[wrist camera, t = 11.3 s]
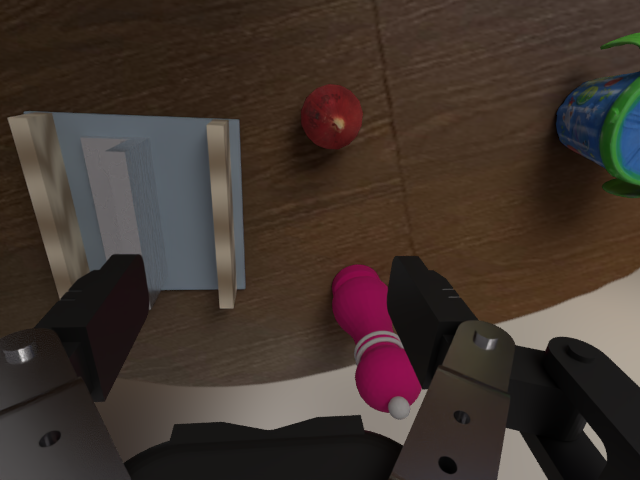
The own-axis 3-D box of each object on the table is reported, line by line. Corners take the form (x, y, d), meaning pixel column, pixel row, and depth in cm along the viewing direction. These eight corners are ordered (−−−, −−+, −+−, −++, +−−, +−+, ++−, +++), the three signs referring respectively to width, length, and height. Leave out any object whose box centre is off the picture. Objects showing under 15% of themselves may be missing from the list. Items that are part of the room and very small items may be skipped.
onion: (290, 128, 39) (293, 142, 32) (312, 72, 37) (320, 74, 30) (340, 149, 41) (353, 168, 33) (364, 97, 39) (383, 105, 31)
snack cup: (540, 50, 38) (623, 46, 29) (640, 24, 38) (754, 11, 29) (537, 191, 45) (603, 223, 36) (622, 169, 45) (709, 196, 36)
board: (27, 111, 36) (23, 111, 35) (239, 119, 38) (238, 120, 38) (74, 288, 44) (71, 291, 44) (245, 286, 47) (245, 289, 46)
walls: (35, 112, 35) (7, 117, 32) (228, 119, 38) (223, 125, 34) (80, 290, 44) (63, 311, 40) (236, 289, 46) (233, 308, 42)
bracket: (85, 135, 37) (47, 149, 31) (149, 137, 38) (124, 151, 31) (115, 275, 44) (88, 310, 37) (168, 275, 44) (151, 309, 38)
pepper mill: (349, 250, 46) (395, 370, 28) (394, 276, 48) (463, 402, 30) (317, 293, 48) (340, 430, 30) (361, 316, 50) (407, 456, 32)
